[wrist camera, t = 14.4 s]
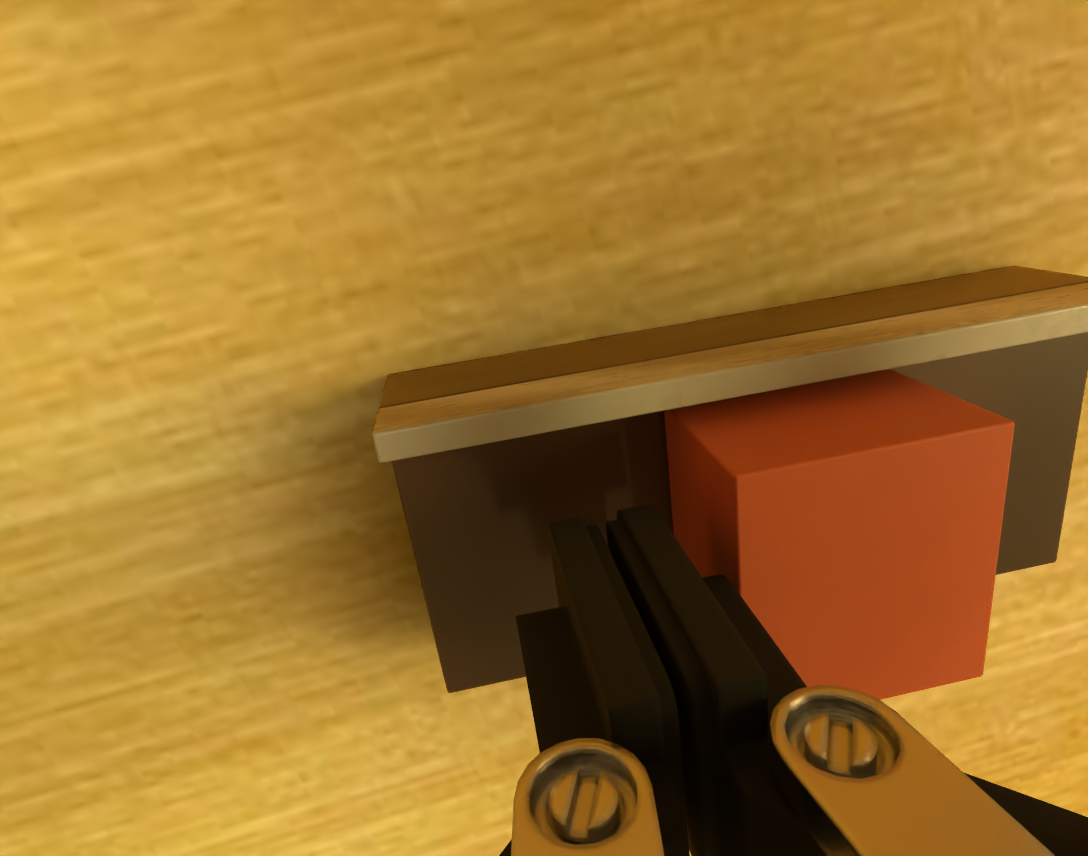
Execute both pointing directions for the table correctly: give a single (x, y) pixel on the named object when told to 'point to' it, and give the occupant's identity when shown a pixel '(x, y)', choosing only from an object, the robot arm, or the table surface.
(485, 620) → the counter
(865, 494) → the red cube block
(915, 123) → the table surface
